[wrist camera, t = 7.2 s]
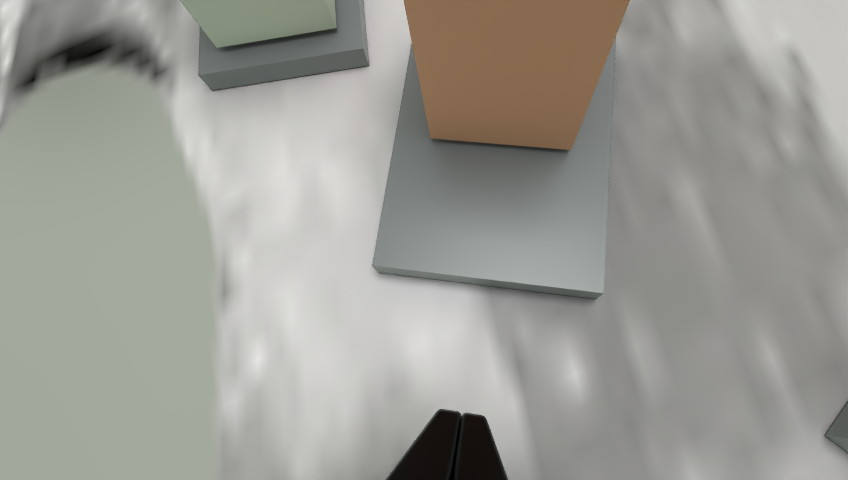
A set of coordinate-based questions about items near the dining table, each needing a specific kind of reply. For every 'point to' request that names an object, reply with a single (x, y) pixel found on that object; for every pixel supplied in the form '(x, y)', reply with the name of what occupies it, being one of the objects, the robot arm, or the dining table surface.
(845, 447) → the oak key base
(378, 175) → the dining table surface
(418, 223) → the terracotta key base
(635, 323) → the dining table surface
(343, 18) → the sage key base
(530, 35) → the orange rectangular block
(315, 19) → the sage key
